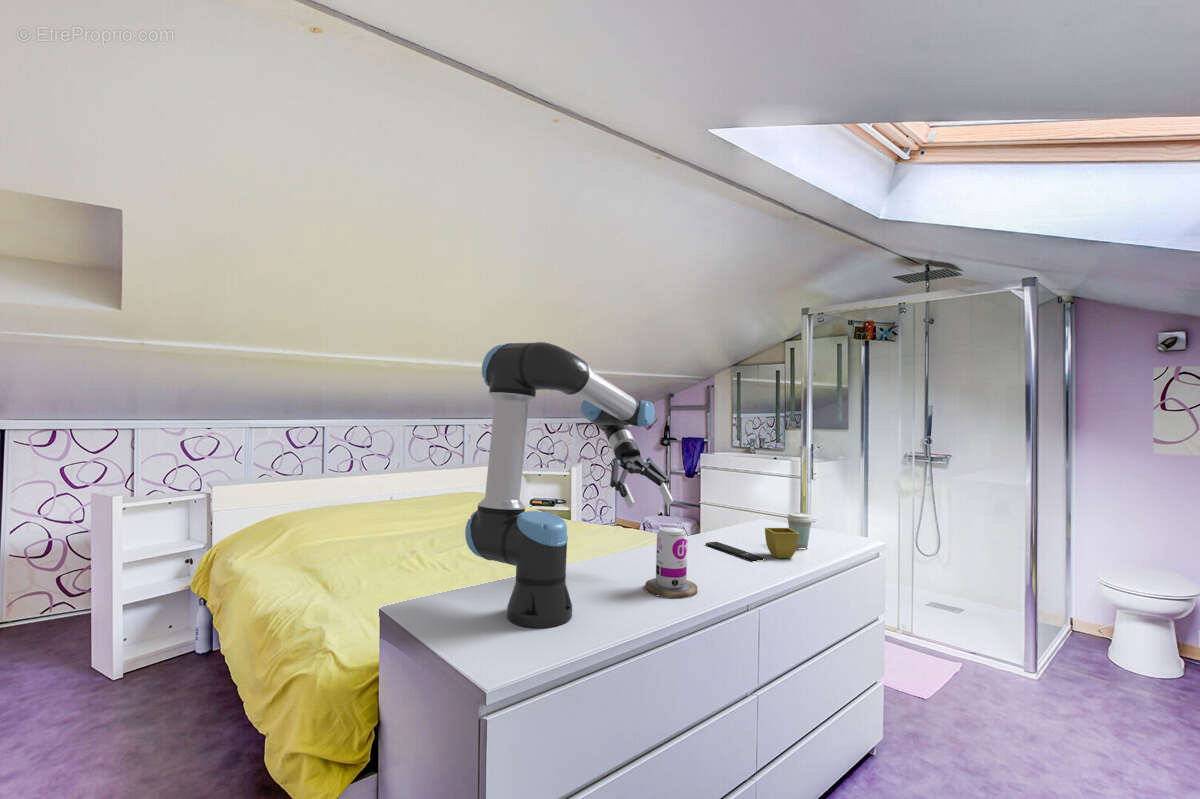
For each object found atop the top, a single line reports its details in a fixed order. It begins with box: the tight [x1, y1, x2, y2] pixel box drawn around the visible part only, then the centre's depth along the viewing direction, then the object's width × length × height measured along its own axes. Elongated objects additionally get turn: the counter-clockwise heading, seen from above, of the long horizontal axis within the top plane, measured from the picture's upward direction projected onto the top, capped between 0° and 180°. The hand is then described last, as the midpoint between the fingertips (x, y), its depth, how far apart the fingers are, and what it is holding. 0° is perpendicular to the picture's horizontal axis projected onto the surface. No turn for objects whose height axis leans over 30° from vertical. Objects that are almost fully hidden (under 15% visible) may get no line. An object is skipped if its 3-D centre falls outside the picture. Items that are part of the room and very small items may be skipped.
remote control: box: [705, 541, 765, 562], centre depth 198 cm, size 5×24×1 cm, turn 29°
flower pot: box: [764, 527, 799, 559], centre depth 195 cm, size 9×9×9 cm
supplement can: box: [655, 526, 688, 589], centre depth 156 cm, size 8×8×15 cm
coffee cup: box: [786, 512, 813, 549], centre depth 208 cm, size 8×9×12 cm
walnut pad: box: [644, 577, 698, 599], centre depth 156 cm, size 14×14×1 cm
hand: (651, 504), depth 164 cm, fingers open, 13 cm apart
